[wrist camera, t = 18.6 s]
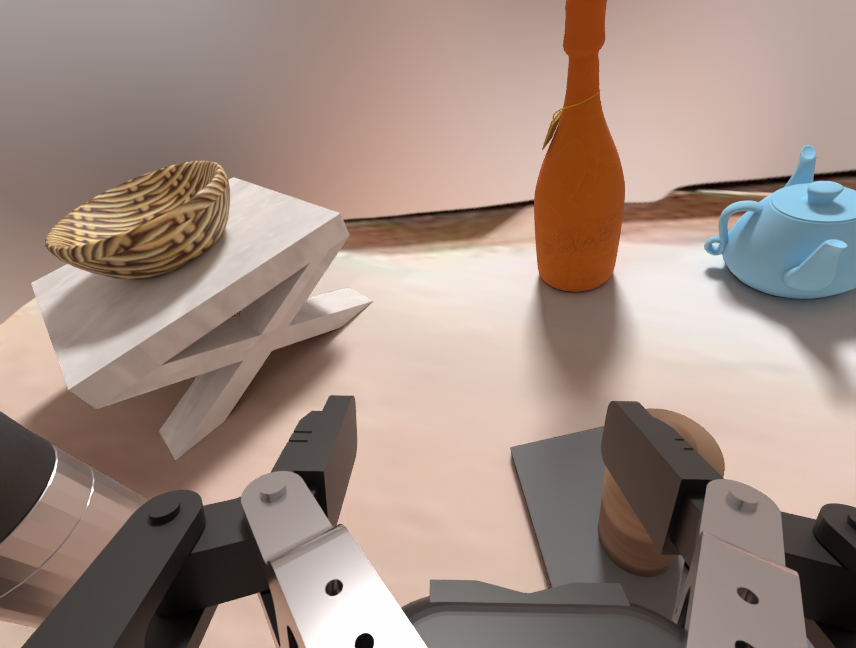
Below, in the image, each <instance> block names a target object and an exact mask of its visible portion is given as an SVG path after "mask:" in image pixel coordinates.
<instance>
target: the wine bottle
mask: <svg viewBox="0 0 856 648" xmlns="http://www.w3.org/2000/svg"><path fill="white" fill-rule="evenodd" d="M606 2H607V0H566V6H565V9H566V21H565V34H564V41H563V47H564V51H565V52H566V54H567V55H568V56H569V67H568V78H567V89H566V96H565V102H564V106H563V108H562V109H560V110H562V111H560V110H558V111H560V112H559V113H558V114H557V116H556V117H555V118H554V115H555V114H556V113H557V112H558V111H556V112H555V113H554V115H553V121H552V122H551V124H550V127H549V130H548V133H547V136H546V139H545V142H544V145H543V148H542V150H543V149H544V148H545V146H546V145H547V144H548V142H549V141H550V140H551V138H552V137H553V134H554V132H555V130H556V132H555V134H554V137H553V139H552V141H551V144H550V146H549V149H548V151H547V153H546V156H545V158H544V161H543V164H542V167H541V170H540V173H539V177H538V181H537V185H536V190H535V199H534V218H535V238H536V252H537V263H538V270H539V274H540V276H541V278H542V279H543V280H544V281H545V282H546V283H547V284H549V285H550V286H552V287H554V288H556V289H559V290H564V291H572V292H578V291H586V290H590V289H593V288H596V287H598V286H600V285H602V284H603V283H605V282H606V281H607V280H608V279H609V278H610V276H611V275H612V273H613V270H614V267H615V262H616V257H617V251H618V245H619V239H620V232H621V225H622V218H623V210H624V200H625V182H624V176H623V171H622V166H621V162H620V158H619V155H618V152H617V149H616V146H615V144H614V142H613V139H612V136H611V134H610V131H609V129H608V126H607V124H606V121H605V118H604V115H603V111H602V106H601V101H600V90H599V58H598V52H599V50H600V49H601V47H602V46H603V44H604V41H605V12H606ZM558 123H559V124H558ZM557 125H558V127H557ZM556 127H557V129H556Z"/></svg>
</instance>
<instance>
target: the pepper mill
mask: <svg viewBox="0 0 856 648" xmlns="http://www.w3.org/2000/svg"><path fill="white" fill-rule="evenodd" d="M646 410H647V411H648V412H649V413H650V414H651V415H652V416H653V417H654V418H658V419H659V420H661V421H663V422H664V423H666V424H668V425H669V426H671V427H673V428H674V429H675V430H676V431H677V432H678V433H679V434H680V435H681V436H682V437H683V438H684V441H687V442H688V443H689V444H690V445H691V446H692V447H693V450H694V451H697V452H698V453H699V454H700V455H701V456H702V457H703V458H704V459H705V460H706V461H707V462H708V463H709V464H710V465H711V466H712V467H713V468H714V469H715V470H716V471H717V472H718V473H719V474H720V475H721V476H722V477H723V476H724V470H725V464H724V458H723V455H722V452H721V450H720V448H719V446H718V444H717V443H716V441H715V440H714V438H713V437H712V436H711V435H710V434H709V433H708V432H707V431H706V430H705V429H704V428H703V427H702V426H700V425H699V424H698V423H696V422H695V421H693V420H692V419H690V418H688V417H686V416H684V415H681V414H679V413H676V412H672V411H668V410H663V409H646ZM598 535H599V540H600V543H601V545H602V547H603V549H604V551H605V552H606V554H607V555H608V557H609V558H610V559H611V560H612V561H613V562H614V563H615V564H616V565H617V566H619V567H620V568H621V569H623V570H625V571H627V572H628V573H631V574H633V575H637V576H641V577H654V576H658V575H661V574H663V573H665V572H666V571H667V570H669V568H670V567H671V566H672V565H673V563H674V561H675V560H676V558H677V556H678V555H661V554H660V553H659V551H658V549H657V548H656V546H655V544H654V543H653V541H652V540H651V538H650V536H649V535H648V533H647V532H646V530H645V528H644V527H643V525H642V524H641V522H640V520H639V519H638V517H637V515H636V514H635V512H634V511H633V509H632V507H631V506H630V504H629V503H628V501H627V499H626V498H625V496H624V495H623V493H622V491H621V490H620V488H619V486H618V485H617V483H616V482H615V480H614V478H613V477H612V475H611V474H610V472H609V470H608V469H607V467H606V468H605V476H604V484H603V491H602V499H601V507H600V514H599V522H598Z"/></svg>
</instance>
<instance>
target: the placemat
mask: <svg viewBox="0 0 856 648" xmlns="http://www.w3.org/2000/svg"><path fill="white" fill-rule="evenodd" d="M603 431H604V427H599V428H595V429H590V430H586V431H581V432H577V433H572V434H568V435H563V436H559V437H554V438H550V439H545V440H541V441H537V442H532V443H528V444H523V445H519V446H514V447H510V448H511V453H512V457H513V460H514V463H515V467H516V470H517V473H518V477H519V480H520V483H521V487H522V490H523V493H524V497H525V500H526V503H527V507H528V510H529V514H530V517H531V520H532V524H533V527H534V530H535V534H536V537H537V540H538V544H539V547H540V550H541V554H542V557H543V560H544V564H545V567H546V570H547V574H548V577H549V580H550V584H551V587H552V588H553V587H557V586H561V585H565V584H569V583H573V582H577V583H620V584H621V587H622V589H623V591H624V593H625V595H626V597H627V599H628V601H629V602H632V603H635V604H638V605H641V606H643V607H646V608H648V609H650V610H653V611H655V612H657V613H659V614H661V615H662V616H664V617H666V618H668V619H669V620H671V621H672V617H673V612H674V606H675V601H676V596H677V590H678V585H679V580H680V575H681V570H682V567H683V563H684V559H683V557H682V556H681V555H678V556H677V558H676V560H675V561H674V563H673V565H672V566H671V567H670V568H669V570H667V571H666V572H665V573H663V574H661V575H658V576H654V577H641V576H637V575H633V574H631V573H628V572H627V571H625V570H623V569H621V568H620V567H619V566H617V565H616V564H615V563H614V562H613V561H612V560H611V559H610V558H609V557H608V555H607V554H606V552H605V551H604V549H603V547H602V545H601V543H600V540H599V535H598V522H599V514H600V507H601V499H602V491H603V484H604V476H605V468H606V466H605V464H604V461H603V459H602V454H601V441H602V436H603ZM806 638H807V637H806ZM807 647H808V648H815V647H814V646H813V645H812V644H811V642H810V641H809V640H808V638H807Z"/></svg>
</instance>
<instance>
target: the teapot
mask: <svg viewBox="0 0 856 648" xmlns="http://www.w3.org/2000/svg"><path fill="white" fill-rule="evenodd" d="M815 161H816V151H815V149H814V147H813V146H811V145H806V146H804V147H803V148H802V150H801V154H800V160H799V163H798V166H797V168H796V170H795V172H794V174H793V175H792V177H791V178H790V180H789V181H788V183H787V184H786V186H785V187H784V188H782V189H779V190H777V191H775V192H774V193H772V194H771V195H769V196H767V197H766V198H764V199H763V200H762V201H760V202H759V203H758V202H755V201H740V202H736V203H733V204H731V205H729V206H728V207H726V208H725V209H724V210H723V212H722V214H721V216H720V219H719V237H717V236H714V237H711V238H709V239H708V240H707V241H706V242H705V246H704V247H705V250H706V251H707V252H708V253H710V254H712V255H720V254H722V255H723V259H724V262H725V264H726V265H727V267H728V268H729V269H730V271H731V272H732V273H733V274H734V275H735V276H736V277H737V278H738V279H739V280H740V281H742V282H743V283H745V284H746V285H748V286H750V287H752V288H754V289H756V290H758V291H761V292H764V293H767V294H771V295H775V296H780V297H786V298H795V299H812V298H821V297H826V296H831V295H835V294H839V293H843V292H846V291H849V290H852V289H854V288H856V191H855V190H852V189H849V188H846V187H843V186H842V185H840V184H838V183H835V182H830V181H817V182H813V177H814V169H815ZM738 211H747V212H746V213H745V214H744V215H743V216H742V217H741V218H740V219H739V220H738V221H737V222H736V223H735V225H734V226H733V227H732V229H731V230H730V232H729V233H728V229H727V224H728V219H729V217H730V215H731V214H733V213H735V212H738ZM714 242H717V243H720V245H719V246H713V245H712V243H714Z"/></svg>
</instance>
